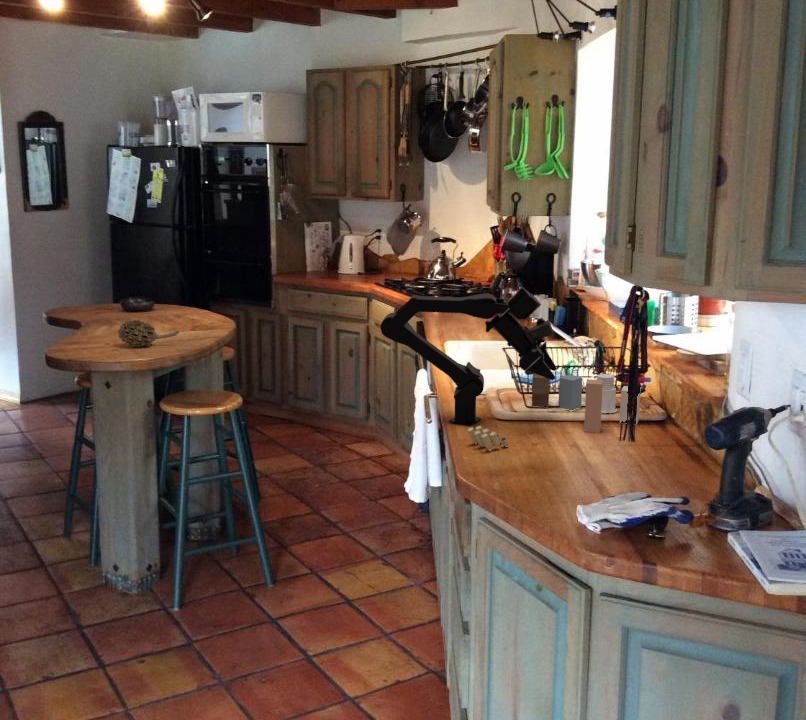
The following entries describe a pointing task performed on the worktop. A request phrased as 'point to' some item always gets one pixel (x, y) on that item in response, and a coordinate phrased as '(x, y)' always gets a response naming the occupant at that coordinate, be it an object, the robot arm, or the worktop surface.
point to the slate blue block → (570, 392)
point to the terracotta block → (593, 406)
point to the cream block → (624, 405)
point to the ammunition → (486, 437)
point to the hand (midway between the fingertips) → (554, 374)
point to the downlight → (608, 393)
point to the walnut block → (540, 390)
